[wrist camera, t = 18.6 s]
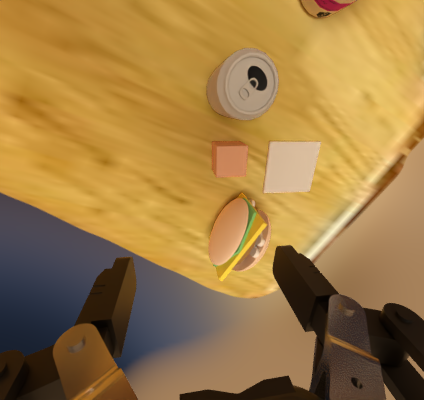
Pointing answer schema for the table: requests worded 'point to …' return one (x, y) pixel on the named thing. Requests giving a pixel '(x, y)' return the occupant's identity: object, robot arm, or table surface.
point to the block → (229, 158)
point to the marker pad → (290, 166)
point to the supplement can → (325, 6)
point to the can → (243, 85)
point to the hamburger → (239, 237)
